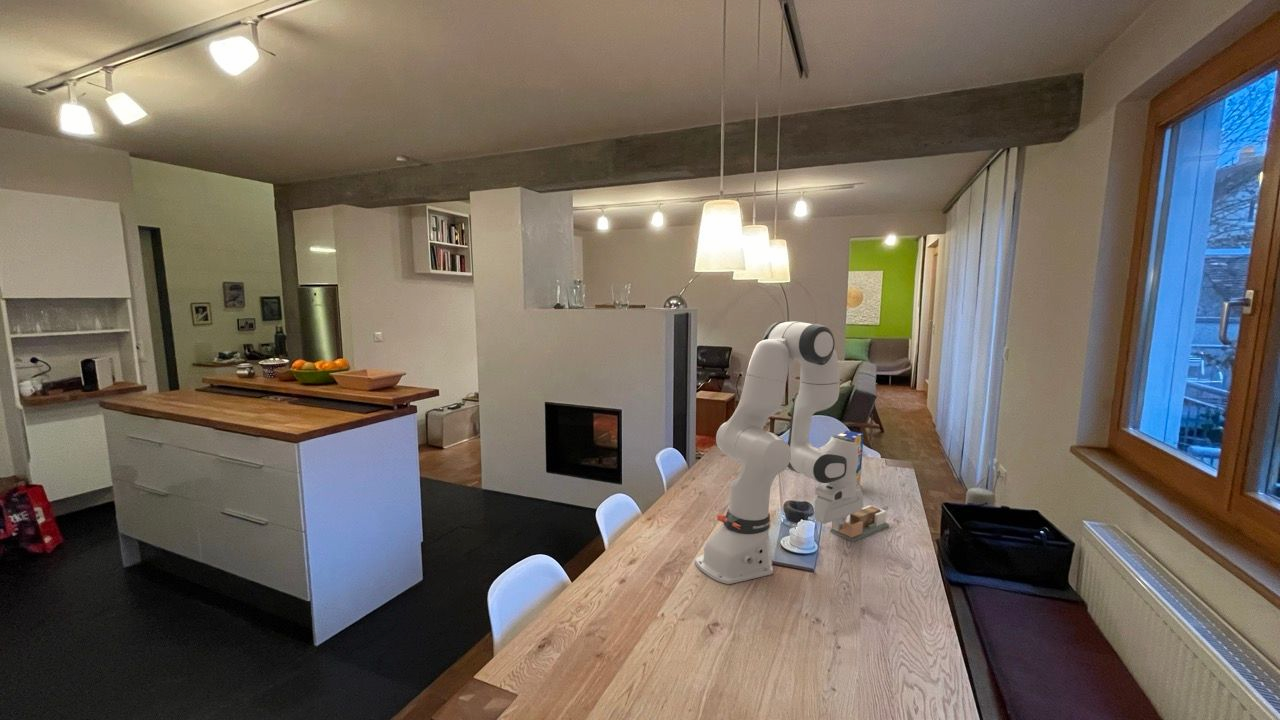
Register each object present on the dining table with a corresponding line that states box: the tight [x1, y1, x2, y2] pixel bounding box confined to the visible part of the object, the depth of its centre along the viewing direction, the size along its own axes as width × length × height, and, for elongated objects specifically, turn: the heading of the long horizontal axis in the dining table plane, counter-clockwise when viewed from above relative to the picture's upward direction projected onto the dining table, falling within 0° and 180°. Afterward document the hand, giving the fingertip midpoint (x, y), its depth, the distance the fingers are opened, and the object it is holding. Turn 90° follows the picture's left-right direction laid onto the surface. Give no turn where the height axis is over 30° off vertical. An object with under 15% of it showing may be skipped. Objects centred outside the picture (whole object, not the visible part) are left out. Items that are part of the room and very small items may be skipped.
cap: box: [831, 521, 863, 537], centre depth 156 cm, size 6×7×4 cm
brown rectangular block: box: [849, 505, 881, 529], centre depth 162 cm, size 12×3×4 cm, turn 123°
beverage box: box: [837, 430, 865, 485], centre depth 197 cm, size 7×11×22 cm, turn 138°
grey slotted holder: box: [830, 504, 890, 543], centre depth 160 cm, size 20×8×5 cm, turn 123°
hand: (838, 529), depth 154 cm, fingers closed
